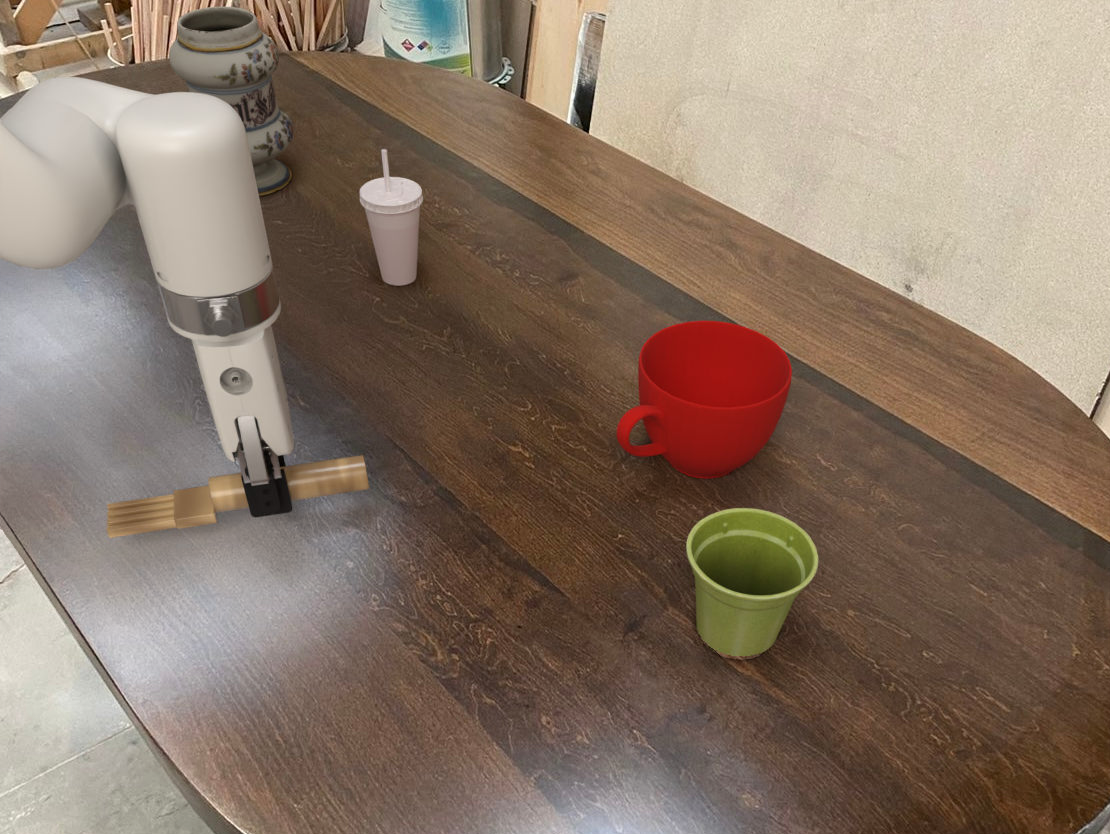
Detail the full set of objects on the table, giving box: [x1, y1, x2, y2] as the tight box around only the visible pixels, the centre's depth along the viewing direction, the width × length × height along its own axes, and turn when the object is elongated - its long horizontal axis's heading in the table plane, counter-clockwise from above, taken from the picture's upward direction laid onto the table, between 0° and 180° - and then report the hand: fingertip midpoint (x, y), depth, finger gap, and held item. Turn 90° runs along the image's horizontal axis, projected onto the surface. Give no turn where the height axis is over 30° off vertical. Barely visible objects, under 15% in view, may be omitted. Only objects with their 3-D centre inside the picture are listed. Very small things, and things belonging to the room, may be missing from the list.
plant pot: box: [685, 507, 819, 657], centre depth 79 cm, size 9×9×9 cm
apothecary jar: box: [168, 6, 294, 197], centre depth 123 cm, size 12×12×18 cm
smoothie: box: [359, 148, 424, 287], centre depth 110 cm, size 6×6×14 cm
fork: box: [106, 454, 370, 539], centre depth 84 cm, size 20×4×3 cm, turn 106°
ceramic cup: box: [616, 320, 793, 480], centre depth 92 cm, size 13×17×10 cm
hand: (270, 496), depth 86 cm, fingers closed on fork, 2 cm apart
